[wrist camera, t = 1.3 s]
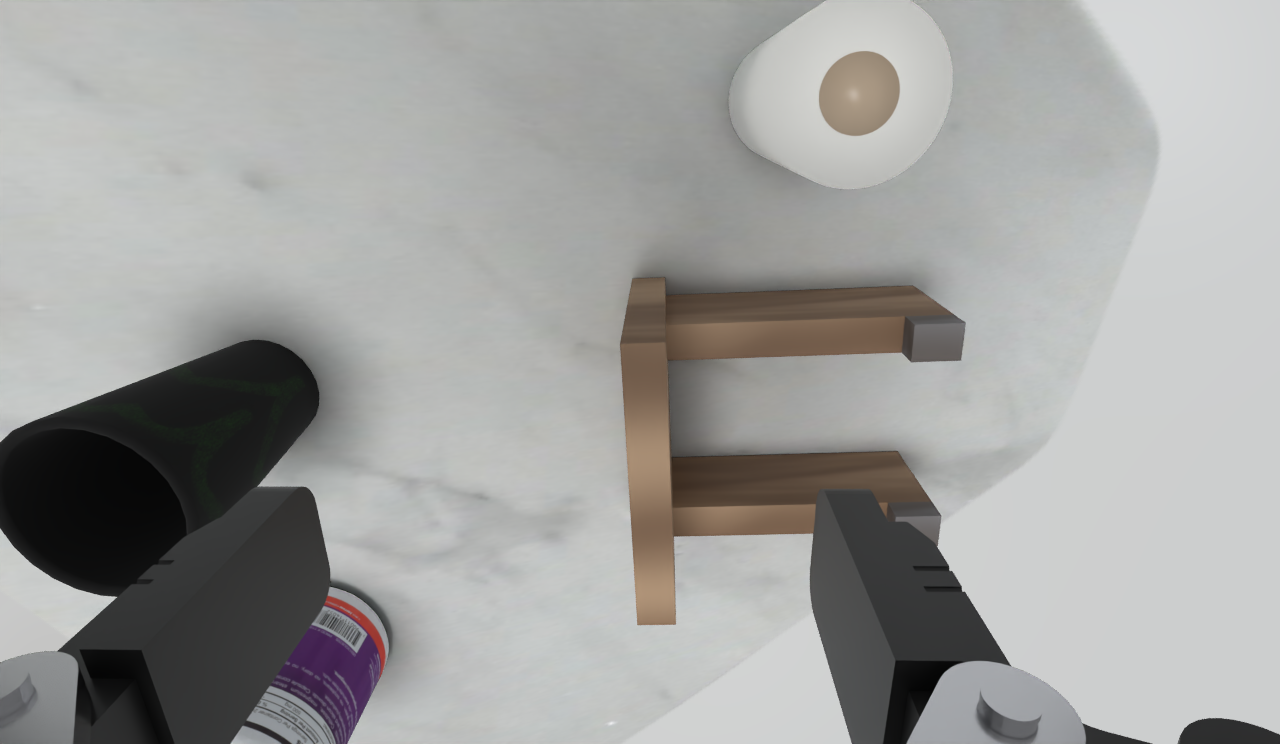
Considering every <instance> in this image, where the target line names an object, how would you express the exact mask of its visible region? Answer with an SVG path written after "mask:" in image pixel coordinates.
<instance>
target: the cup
mask: <svg viewBox="0 0 1280 744" xmlns="http://www.w3.org/2000/svg"><path fill="white" fill-rule="evenodd" d="M318 406H319V391H318V387H317V383H316V380H315V378H314V376H313V374H312V372H311V370H310V369H309V368H308V367H307V365H306V364H305V363H304V362H303V360H302V359H300V358H299V357H298V356H297V355H296V354H294V353H293V352H292V351H290V350H288V349H287V348H285V347H283V346H281V345H279V344H275V343H272V342H269V341H262V340H250V341H244V342H240V343H237V344H235V345H232V346H230V347H227V348H224V349H222V350H219V351H216V352H214V353H211V354H209V355H206V356H203V357H201V358H198V359H195V360H193V361H190V362H188V363H185V364H182V365H180V366H177V367H174V368H172V369H169V370H167V371H164V372H161V373H159V374H156V375H153V376H151V377H148V378H146V379H143V380H140V381H138V382H135V383H132V384H130V385H127V386H124V387H122V388H119V389H117V390H114V391H111V392H109V393H106V394H103V395H101V396H98V397H96V398H93V399H90V400H88V401H85V402H82V403H80V404H77V405H75V406H72V407H69V408H67V409H64V410H61V411H59V412H56V413H54V414H51V415H48V416H46V417H43V418H40V419H38V420H35V421H33V422H30V423H28V424H26V425H24V426H22V427H20V428H17V429H15V430H13V431H12V432H11V433H10V434H9V435H8V436H7V437H5V438H4V439H3V440H2V441H1V442H0V528H1V530H2V531H3V533H4V534H5V535H6V537H7V538H8V539H9V541H10V542H11V543H12V545H13V546H14V547H15V548H16V549H17V550H18V551H19V552H20V553H21V554H22V555H23V556H24V557H25V558H26V559H27V560H28V561H29V562H31V563H32V564H33V565H34V566H36V567H37V568H39V569H40V570H42V571H43V572H45V573H46V574H48V575H49V576H51V577H52V578H54V579H56V580H58V581H60V582H62V583H65V584H67V585H69V586H71V587H73V588H76V589H78V590H82V591H86V592H90V593H93V594H97V595H102V596H115V597H118V596H119V595H120V594H121V593H123V592H124V591H125V590H126V589H127V588H128V587H129V586H130V585H131V584H137V579H138V578H139V577H140V576H142V575H143V574H144V573H145V572H146V571H147V570H148V569H149V568H150V567H152V566H153V565H158V563H159V559H160V558H162V557H163V556H164V555H165V554H166V553H167V552H168V551H169V550H170V549H172V548H173V547H174V546H175V545H176V544H177V543H178V542H179V541H180V540H182V539H183V538H184V537H185V536H187V535H189V534H191V533H193V532H194V531H196V530H198V529H200V528H202V527H203V526H205V525H207V524H209V523H210V522H212V521H214V520H216V519H218V518H221V517H222V516H223V515H224V514H225V513H226V512H227V511H228V510H229V509H231V508H232V507H233V506H234V505H235V504H236V503H237V502H238V501H239V500H240V499H241V498H242V497H243V496H245V495H246V494H247V493H248V492H249V491H250V490H251V489H253V488H255V487H257V486H258V485H259V484H260V483H261V481H262V480H263V479H264V478H265V477H266V475H267V474H268V473H269V472H270V471H271V469H272V468H273V467H274V466H275V465H276V463H277V462H278V461H279V460H280V459H281V458H282V456H283V455H284V454H285V453H286V452H287V450H288V449H289V448H290V447H291V446H292V444H293V443H294V442H295V441H296V440H297V438H298V437H299V436H300V435H301V434H302V432H303V431H304V430H305V429H306V428H307V426H308V425H309V424H310V423H311V421H312V420H313V418H314V417H315V415H316V412H317V409H318Z"/></svg>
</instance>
